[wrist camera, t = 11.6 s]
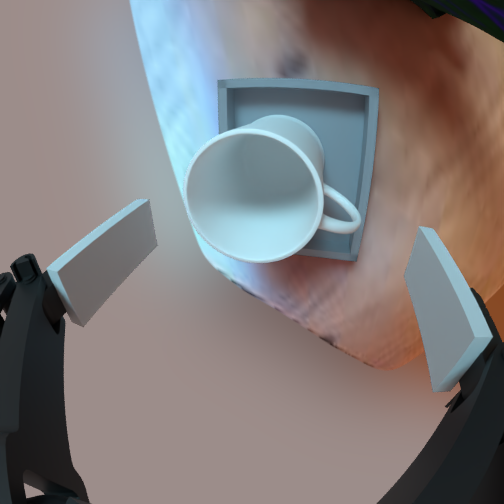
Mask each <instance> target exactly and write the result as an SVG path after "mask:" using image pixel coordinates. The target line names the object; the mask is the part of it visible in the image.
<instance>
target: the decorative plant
mask: <svg viewBox="0 0 504 504" xmlns="http://www.w3.org/2000/svg"><path fill="white" fill-rule="evenodd" d="M411 1H412V2H414V3H415V4H416V5H418V6H419V7H420V8H421V9H422V10H424V11H425V12H426V13H427V14H428V15H429V16H430V17H431V18H432V19H434V18H437V17H440V16H442V15H444V14H445V13H448V14H450V15H452V16H454V17H457V18H459V19H461V20H463V21H465V22H467V23H469V24H471V25H473V26H475V27H477V28H479V29H481V30H483V31H484V32H486V33H488V34H490V35H491V36H493V37H495V38H496V39H498V40H500V41H502V42H504V0H411Z"/></svg>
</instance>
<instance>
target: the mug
mask: <svg viewBox="0 0 504 504" xmlns="http://www.w3.org/2000/svg"><path fill="white" fill-rule="evenodd" d="M324 162H325V158H324V151H323V147H322V144H321V142H320V140H319V138H318V136H317V135H316V134H315V132H314V131H313V130H312V129H311V128H310V127H309V126H308V125H307V124H305V123H304V122H302V121H300V120H298V119H296V118H294V117H290V116H286V115H270V116H265V117H262V118H260V119H258V120H256V121H254V122H252V123H251V124H248V125H245V126H242V127H239V128H235V129H232V130H230V131H227V132H224V133H222V134H219V135H217V136H215V137H214V138H212V139H210V140H209V141H208V142H206V143H205V144H204V145H203V146H202V147H201V148H200V149H199V150H198V151H197V152H196V154H195V155H194V156H193V158H192V160H191V161H190V163H189V165H188V168H187V171H186V174H185V178H184V184H183V197H184V204H185V208H186V211H187V214H188V217H189V219H190V221H191V223H192V225H193V226H194V228H195V229H196V231H197V232H198V234H199V235H200V236H201V237H202V238H203V239H204V240H205V241H206V242H207V243H208V244H209V245H210V246H212V247H213V248H214V249H216V250H217V251H219V252H220V253H222V254H224V255H226V256H228V257H230V258H233V259H236V260H239V261H243V262H249V263H269V262H275V261H279V260H282V259H285V258H287V257H289V256H291V255H293V254H295V253H296V252H298V251H299V250H300V249H302V248H303V247H304V246H305V245H306V244H307V243H308V242H309V241H310V239H311V238H312V237H313V235H314V234H315V232H316V230H317V229H322V230H326V231H329V232H333V233H339V234H350V233H353V232H355V231H356V230H357V229H358V228H359V226H360V224H361V216H360V214H359V212H358V210H357V209H356V207H355V206H354V205H353V204H352V203H351V202H350V201H349V200H348V199H347V198H345V197H344V196H343V195H342V194H340V193H339V192H337V191H336V190H335V189H333V188H331V187H330V186H328V185H326V184H325V183H323V169H324ZM324 195H326V196H328V197H329V198H331V199H332V200H334V201H335V202H336V203H338V204H339V205H340V206H341V207H342V208H344V209H345V210H346V212H347V213H348V214H349V215H350V217H351V218H352V220H353V222H345V221H340V220H337V219H334V218H331V217H329V216H326V215H325V214H323V207H324Z"/></svg>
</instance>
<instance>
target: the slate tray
mask: <svg viewBox="0 0 504 504" xmlns="http://www.w3.org/2000/svg"><path fill="white" fill-rule="evenodd" d="M378 102H379V88H374V87H369V86H363V85H356V84H349V83H341V82H332V81H322V80H308V79H288V78H247V79H227V80H218V120H219V134H222V133H224V132H227V131H230V130H232V129H235V128H239V127H242V126H245V125H248V124H251V123H252V122H254V121H256V120H258V119H260V118H262V117H265V116H270V115H286V116H290V117H294V118H296V119H298V120H300V121H302V122H304V123H305V124H307V125H308V126H309V127H310V128H311V129H312V130H313V131H314V132H315V134H316V135H317V136H318V138H319V140H320V142H321V144H322V147H323V151H324V158H325V162H324V169H323V183H325V184H326V185H328V186H330V187H331V188H333V189H335V190H336V191H337V192H339V193H340V194H342V195H343V196H344V197H345V198H347V199H348V200H349V201H350V202H351V203H352V204H353V205H354V206H355V207H356V209H357V210H358V212H359V214H360V216H361V224H360V226H359V228H358V229H357V230H356V231H355V232H353V233H350V234H339V233H333V232H329V231H326V230H322V229H317V230H316V232H315V234H314V235H313V237H312V238H311V239H310V241H309V242H308V243H307V244H306V245H305V246H304V247H303V248H302V249H300V250H299V251H298V252H296V253H295V254H296V255H304V256H313V257H322V258H330V259H339V260H348V261H356V262H357V257H358V252H359V248H360V243H361V238H362V233H363V228H364V222H365V217H366V211H367V205H368V199H369V192H370V185H371V178H372V171H373V162H374V154H375V144H376V133H377V119H378ZM323 214H325V215H326V216H329V217H331V218H334V219H337V220H340V221H345V222H353V220H352V218H351V217H350V215H349V214H348V213H347V212H346V210H345V209H344V208H342V207H341V206H340V205H339V204H338V203H336V202H335V201H334V200H332V199H331V198H329V197H328V196H326V195H324V207H323Z"/></svg>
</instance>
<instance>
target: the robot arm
mask: <svg viewBox="0 0 504 504" xmlns="http://www.w3.org/2000/svg"><path fill="white" fill-rule="evenodd" d="M156 246H157V240H156V235H155V230H154V224H153V219H152V213H151V208H150V201H149V199H137V200H135V201H134V202H133V203H131V204H130V205H128V206H127V207H125V208H124V209H122V210H121V211H119V212H118V213H117V214H115V215H114V216H112V217H111V218H110V219H108V220H107V221H105V222H104V223H103V224H101V225H100V226H99V227H97V228H96V229H95V230H93V231H92V232H91V233H89V234H88V235H87V236H85V237H84V238H83V239H81V240H80V241H79V242H78V243H76V244H75V245H74V246H73V247H71V248H70V249H69V250H68V251H67V252H65V253H64V254H63V255H62V256H60V257H59V258H58V259H57V260H56V261H54V262H53V263H52V264H51V265H50V266H49V267H48V268H47V270H46V271H45V272H44V273H43V274H42V273H41V270H40V268H39V265H38V263H37V260H36V258H35V256H34V255H33V254H26V255H23V256H21V257H19V258H18V259H17V260H15V261H14V262H13V263H12V264H11V266H10V267H11V270H12V272H13V274H14V276H15V278H16V280H17V282H15V280H14V278H13V275H12V274H11V273H10V272H7V273H2V274H0V313H1V311H2V310H4V312H5V313H6V315H7V316H6V320H5V321H4V319H3V317H2V316H1V314H0V504H90V503H89V499H88V496H87V492H86V488H85V485H84V483H83V481H82V479H81V477H80V476H79V474H78V473H77V472H76V470H75V469H74V467H73V464H72V461H71V455H70V449H69V442H68V434H67V426H66V416H65V401H64V377H63V376H64V375H63V374H64V368H63V367H64V338H65V337H64V336H65V319H64V318H63V315H64V314H65V313H66V312H67V314H68V315H69V317H70V319H71V321H72V322H73V323H75V324H77V325H80V326H82V327H84V326H85V325H86V323H87V322H88V321H89V320H90V319H91V317H92V316H93V315H94V314H95V313H96V311H97V310H98V309H99V308H100V307H101V306H102V305H103V304H104V302H105V301H106V300H107V299H108V298H109V297H110V295H112V293H113V292H114V291H115V290H116V289H117V288H118V287H119V286H120V285H121V283H122V282H123V281H124V280H125V279H126V278H127V277H128V276H129V275H130V274H131V273H132V272H133V270H134V269H135V268H136V267H137V266H138V265H139V264H140V263H141V262H142V261H143V260H144V259H145V258H146V257H147V256H148V255H149V254H150V253H151V252H152V251H153V250H154V249H155V248H156ZM404 278H405V281H406V284H407V287H408V290H409V294H410V297H411V300H412V303H413V307H414V310H415V314H416V317H417V321H418V325H419V329H420V332H421V336H422V341H423V345H424V349H425V354H426V358H427V363H428V368H429V373H430V378H431V384H432V390H433V392H445V391H451V390H452V389H453V387H454V386H455V385H456V384H457V383H458V382H459V383H460V387H461V390H460V391H459V392H458V393H457V394H456V395H455V397H454V398H453V399H452V400H451V401H450V402H449V403H448V404H447V405H446V406H445V407H447V408H448V407H449V406H450V407H449V409H448V411H447V412H446V414H445V416H444V417H443V419H442V421H441V422H440V424H439V425H438V427H437V429H436V431H435V432H434V433H433V435H432V436H431V438H430V439H429V441H428V442H427V444H426V445H425V447H424V448H423V449H422V451H421V452H420V454H419V455H418V456H417V458H416V459H415V460H414V462H413V463H412V464H411V465H410V467H409V468H408V469H407V470H406V472H405V473H404V474H403V475H402V476H401V478H400V479H399V480H398V481H397V482H396V483H395V484H394V486H393V487H392V488H391V489H390V490H389V491H388V492H387V493H386V494H385V495H384V496H383V498H382V499H381V500H380V501H379V502H378V503H377V504H504V342H502V340H501V338H500V335H499V333H498V331H497V329H496V326H495V324H494V322H493V320H492V318H491V316H489V312H488V310H487V308H486V306H485V304H484V302H483V300H482V298H481V296H480V295H479V294H478V293H477V292H476V291H475V290H474V289H473V288H469V286H468V284H467V282H466V281H465V279H464V277H463V275H462V274H461V272H460V270H459V268H458V267H457V265H456V263H455V262H454V260H453V258H452V257H451V255H450V254H449V252H448V250H447V249H446V247H445V246H444V244H443V243H442V241H441V240H440V238H439V237H438V235H437V234H436V232H435V231H434V229H433V228H427V227H421V226H419V228H418V232H417V235H416V239H415V242H414V246H413V249H412V252H411V256H410V259H409V262H408V265H407V268H406V271H405V274H404ZM24 483H26V484H28V485H30V486H32V487H34V488H37V489H39V490H41V491H42V492H43V493H44V494H45V495H40V496H35V497H31V498H26V495H25V489H24Z"/></svg>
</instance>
